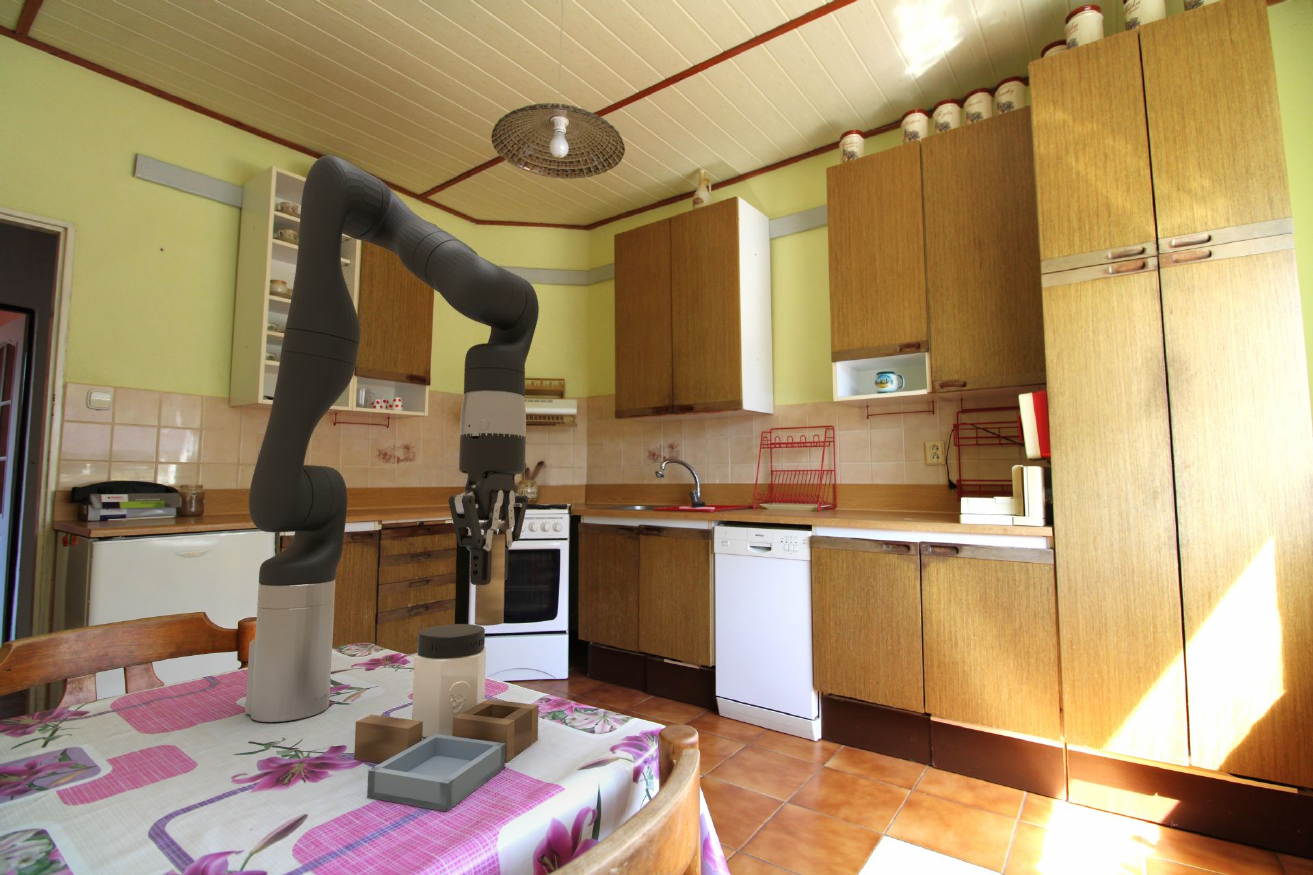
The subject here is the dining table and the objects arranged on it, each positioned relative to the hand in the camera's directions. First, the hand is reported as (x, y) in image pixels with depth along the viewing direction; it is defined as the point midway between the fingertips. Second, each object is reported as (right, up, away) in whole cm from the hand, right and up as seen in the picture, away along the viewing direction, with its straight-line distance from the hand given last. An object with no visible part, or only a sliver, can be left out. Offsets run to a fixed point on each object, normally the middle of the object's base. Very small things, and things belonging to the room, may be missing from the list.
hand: (489, 581), depth 73 cm
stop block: (-10, -19, -3) cm, 22 cm away
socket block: (+1, -19, 0) cm, 19 cm away
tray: (-3, -18, -9) cm, 21 cm away
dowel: (0, -5, 0) cm, 5 cm away
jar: (-7, -20, +6) cm, 22 cm away
